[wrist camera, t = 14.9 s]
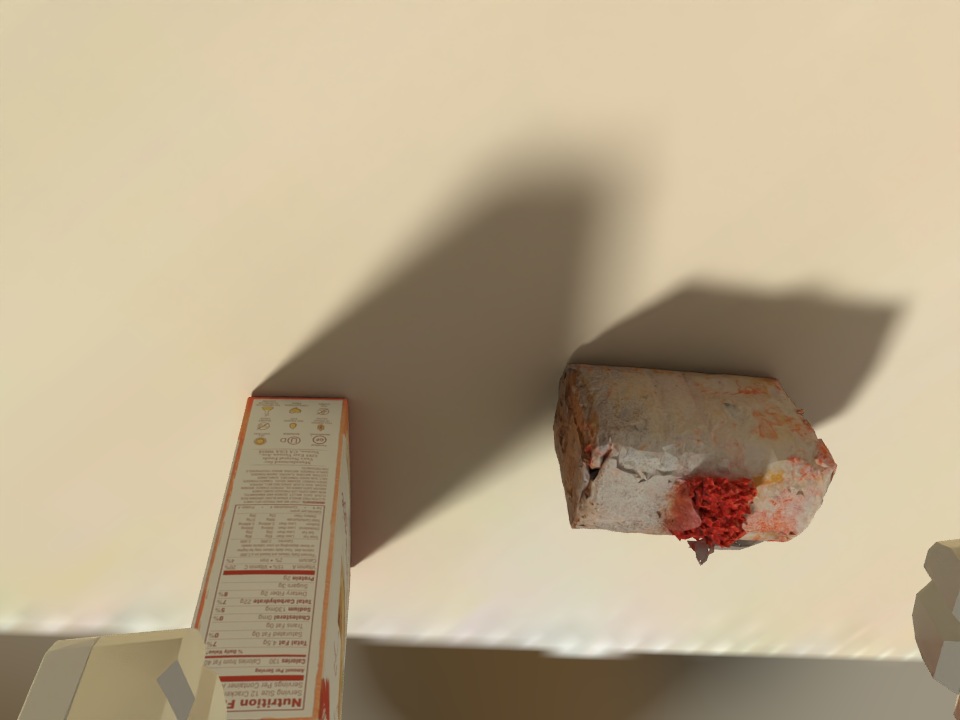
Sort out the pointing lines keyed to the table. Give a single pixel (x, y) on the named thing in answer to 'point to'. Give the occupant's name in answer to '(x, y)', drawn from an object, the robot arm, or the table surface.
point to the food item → (687, 456)
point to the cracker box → (282, 564)
